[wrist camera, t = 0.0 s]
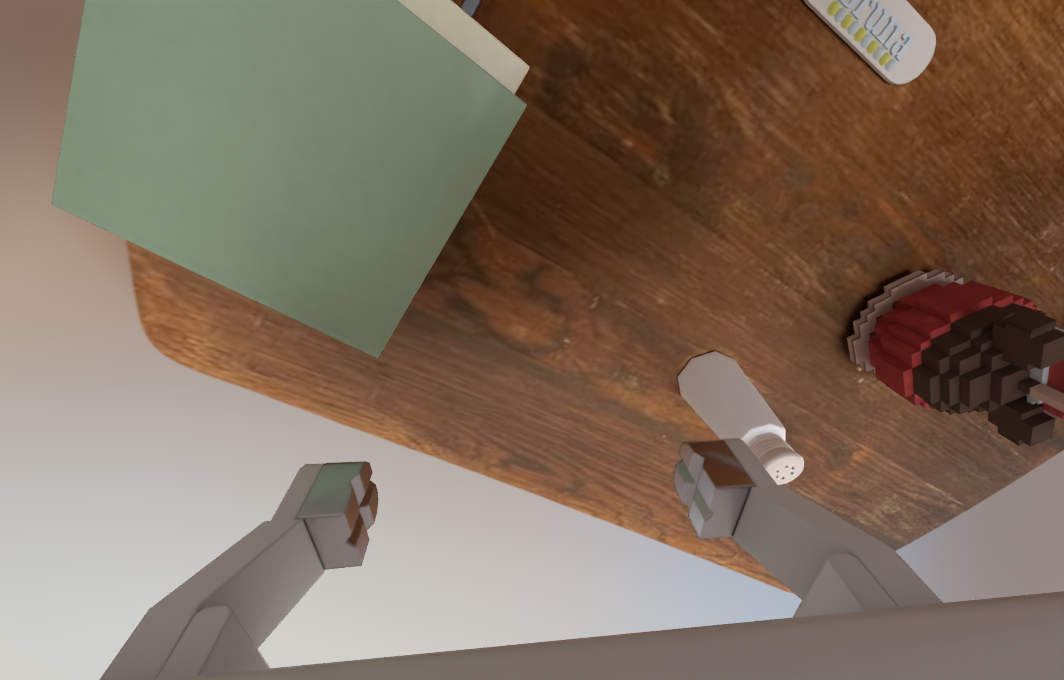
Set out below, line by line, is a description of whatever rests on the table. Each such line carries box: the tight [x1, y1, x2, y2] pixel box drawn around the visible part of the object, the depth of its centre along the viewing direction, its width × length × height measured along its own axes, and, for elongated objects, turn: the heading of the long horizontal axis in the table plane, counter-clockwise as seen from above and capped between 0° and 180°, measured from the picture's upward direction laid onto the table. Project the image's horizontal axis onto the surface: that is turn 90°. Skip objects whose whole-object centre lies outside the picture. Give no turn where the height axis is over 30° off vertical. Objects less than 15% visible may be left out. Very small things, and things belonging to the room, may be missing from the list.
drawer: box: [398, 0, 530, 94], centre depth 19 cm, size 17×13×8 cm
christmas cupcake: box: [847, 269, 1064, 446], centre depth 26 cm, size 11×9×18 cm
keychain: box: [804, 0, 936, 84], centre depth 23 cm, size 10×1×3 cm
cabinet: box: [52, 0, 527, 358], centre depth 20 cm, size 14×14×10 cm
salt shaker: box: [678, 351, 804, 485], centre depth 31 cm, size 5×5×11 cm
